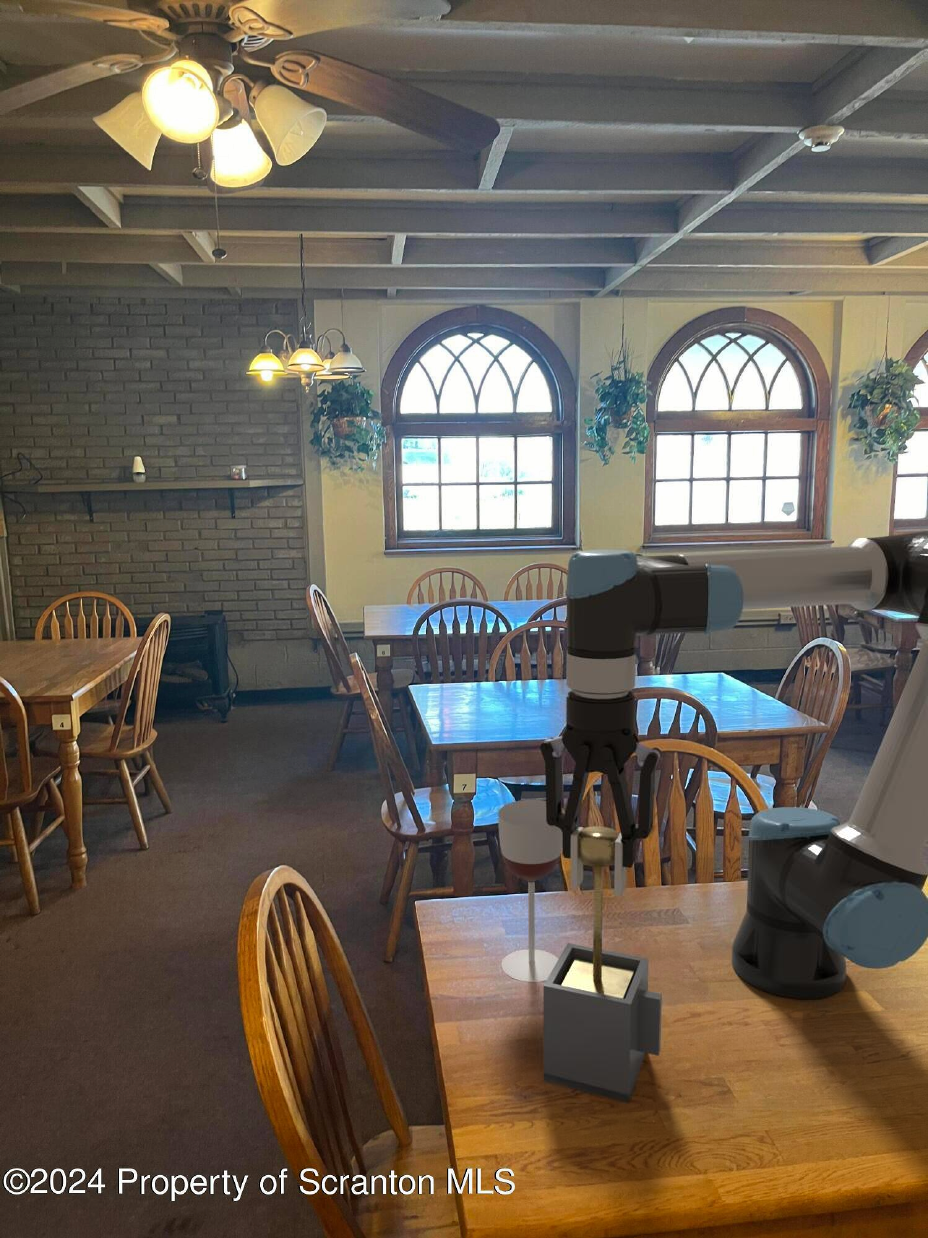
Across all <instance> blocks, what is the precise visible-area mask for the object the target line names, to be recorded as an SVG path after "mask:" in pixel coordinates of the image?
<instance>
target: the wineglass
mask: <svg viewBox="0 0 928 1238" xmlns="http://www.w3.org/2000/svg"><path fill="white" fill-rule="evenodd" d="M562 813H563V814H565V808H563V807H562ZM497 816H498V817H497V819H498V837H499V844H500V852H501V855H502V858H503V861H504V864H505V865H506V867H507V869H508V871H510V872H511V874H513V875H514V876H515V877H517V878H519V879H521V880H524V881H526V882H527V883H528V885H527V886H528V888H527V889H528V891H527V892H528V896H527V897H528V899H527V900H528V901H527V902H528V918H527V919H528V949H519V950H516V951H513V952H511V953H508V954H507V955H506V956H505V957H503V959H502V961H501V969H502V970H503V973H505V974H506V975H507V976H509V977H510V978H513V979H515V980H517V981H520V982H527V983H539V982H544V981H545V982H546V980H547V979H548V977H549V975H550V973H551V972H552V970H553V968H554V966H555V965H556V963H557V961H558V959H559V957H557V956H556V955H554V954H553V953H551V952H548V951H545V950H541V949H536V948H535V946H536V941H535V937H536V936H535V935H536V934H535V931H536V930H535V929H536V928H535V927H536V926H535V925H536V924H535V923H536V922H535V919H536V915H535V914H536V913H535V910H536V907H535V906H536V905H535V900H536V899H535V896H536V895H535V889H536V887H535V881H538V880H541V879H543V878H545V877H547V876H548V875H549V874H550V873H552V872H553V871H554V869H555V868H556V867H557V865H558V863H559V861H560V857H561V855H562V849H563V848H562V846H563V845H562V835H563V834H562V831H561V829H560V828H558V827H556V826H550V825H548V824H547V821H546V800H543V799H542V800H541V799H522V800H517V801H512V802H510V803H507V804H505V805H503V806H502V807H500V809H499V810H498V812H497Z"/></svg>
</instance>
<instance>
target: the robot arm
mask: <svg viewBox="0 0 928 1238" xmlns="http://www.w3.org/2000/svg"><path fill="white" fill-rule="evenodd" d="M566 574H567V575H566V588H565V589H566V590H565V597H566V635H567V636H566V638H567V639H566V642H567V645H566V672H565V673H566V676H565V678H566V679H565V680H566V683H565V684H566V687H567V688H568V689H569V690H568V692H567V693H566V700H565V702H566V706H565V707H566V708H565V709H566V711H565V712H566V713H565V714H566V715H565V717H566V718H565V723H566V725H565V729H564V732H563V733H562V735H560V736H557V737H555V738H554V737H552V736H548V737H547V738H546V739H545V740H544V741H543V742H542V743H541V744H540V745H539V746H540V747H539V749H540V753H541V755H542V757H543V760H544V761H543V762H544V763H545V766H544V767H545V801H546V821H547V824H548V825H550V826H556V827H558V828H560V829H561V831H562V834H563V835H562V845H563V846H562V851H561V855H562V856H563V858H565V859H569V860H570V884H569V885H570V890H574V891H577V890H578V889H579V887H580V885H581V884H582V883H583V881H584V863H582V862H581V861H580V859H579V832H580V831H581V830H582V829H584V827H582V826H577V824H578V822H579V821H580V820H579V818H580V817H579V816H580V812H581V808H582V804H583V800H584V796H585V792H586V787H587V784H588V781H589V780H588V779H589V775H590V773H595V772H596V773H597V772H598V773H600V774H603V775H606V777H607V781H608V784H609V785H610V790H611V793H612V798H613V803H614V807H615V812H616V817H617V822H618V827H619V831H620V833H618V838H617V839H616V841H615V864H614V877H613V879H614V888H613V889H614V892H613V896H614V897H617V898H622V896H623V895H624V892H625V890H626V888H627V869H628V868H629V869H632V868H633V865H634V864H635V863H634V862H635V861H636V859H637V858H636V851H637V845H636V844H637V840H639V839H642V840H645V839H647V838H649V836H650V834H651V831H652V830H653V828H654V809H655V807H654V805H655V784H656V782H655V781H656V780H655V779H656V767H657V765H658V762H660V761H659V760H660V758H661V757H662V751H661V749H659V748H658V747H653V748H650V747H648V746H646V745H644V744H642V743H640V742H639V738H638V736H637V734H636V732H635V731H636V730H635V705H636V704H635V703H636V701H635V699H636V696H635V694H634V693H633V691H632V690H633V689H634V688H635V687H636V651H637V647H636V644H637V636H641V637H643V636H645V637H647V636H655V635H679V634H680V635H681V634H682V635H685V634H704V635H707V634H711V633H715V632H724V631H729V630H731V629H733V628H735V626H736V625H737V624H738V622H739V621H740V619H741V618H742V617H741V616H742V613H743V611H745V610H746V611H747V610H761V609H763V610H766V609H779V608H781V609H782V608H784V609H785V608H798V607H799V608H800V607H812V606H813V607H815V606H832V605H848V604H849V605H851V606H852V607H853V608H854V609H855V610H859V611H877V610H878V611H886V612H887V611H889V612H894V613H895V612H896V613H900V614H905V615H912V616H916V617H918V619H917V621H916V623H915V626H914V627H915V628H916V630H917V632H918V635H919V636H920V638H921V642H922V644H921V646H920V649H919V652H918V655H917V656H916V659H915V662H914V664H913V666H912V668H911V670H910V674H909V677H907V678H908V679H907V681H906V683H905V686H904V688H903V690H902V693H901V695H900V698H899V701H898V702H897V705H896V708H895V710H894V713H893V715H892V716H891V717H892V718H891V719H890V722H889V725H888V726H887V729H886V732H885V734H884V736H883V738H882V740H881V741H882V742H881V744H880V746H879V749H878V751H877V753H876V755H875V758H874V761H873V762H872V766H871V767H870V771H869V772H868V775H867V777H866V780H865V783H864V786H863V788H862V790H861V792H860V794H859V798H858V799H857V802H856V804H855V806H854V809H853V812H852V814H851V816H850V819H849V820H848V821H846V822H844V823H842V824H841V822H840V819H839V818H838V817H837V816H835V814H832V813H830V812H827V811H823V810H820V809H814V808H807V807H797V806H796V807H795V806H794V807H793V806H790V807H789V806H788V807H787V806H784V807H782V806H781V807H774V808H773V807H772V808H768V809H764V810H761V811H758V812H757V813H756V814H754V816H753V817H752V818H751V820H750V826H749V832H748V836H747V841H748V855H747V856H748V860H747V885H746V886H747V888H746V893H747V894H746V911H745V914H744V915H743V919H742V921H741V923H740V926H739V928H738V931H737V933H736V936H735V938H734V939H733V943H732V948H731V949H732V950H731V964H732V968H733V969H734V971H735V972H736V973H737V975H738V976H739V977H740V978H741V979H742V980H744V981H745V982H747V983H748V984H750V985H752V986H753V987H755V988H757V989H759V990H762V991H763V992H766V993H768V994H769V993H770V994H771V995H776V996H779V997H784V998H790V999H798V1000H799V999H800V1000H815V999H823V998H826V997H830V996H832V995H833V996H834V995H836V993H838V992H839V991H841V990H842V989H843V988H844V986H845V984H846V978H847V961H846V959H847V960H849V961H850V962H851V963H853V964H854V965H857V966H859V967H862V968H866V969H873V970H874V969H875V970H877V969H878V970H879V969H887V968H891V967H894V966H896V965H897V964H898V963H900V962H902V963H903V962H905V961H907V960H909V959H910V958H911V957H912V956H915V954H916V953H917V952H918V951H919V950H920V949H921V948H922V946H923V945H924V944H925V942H927V940H928V897H927V895H926V894H925V893H924V891H923V888H924V887H925V884H926V881H927V879H928V864H927V862H926V860H925V858H924V856H923V851H924V848H925V846H926V844H927V841H928V530H925V531H916V532H915V531H914V532H911V533H908V532H907V533H901V534H893V535H886V536H877V537H861V538H856V539H854V540H853V541H851V542H850V543H849V544H848V545H847V546H833V547H811V548H792V549H791V548H789V549H771V550H769V549H768V550H750V551H749V550H747V551H746V550H745V551H730V552H729V551H728V552H709V553H708V552H706V553H705V552H704V553H683V554H677V555H675V554H668V555H667V554H665V555H643V554H639V553H634V552H632V551H630V550H623V549H621V550H620V549H589V550H588V549H587V550H581V551H580V550H579V551H577V552H575V553H574V554H572V555H571V556H570V558H569V560H568V566H567V573H566ZM564 747H565V749H566V750H567V752H568V754H569V755H570V756H571V758H572V759H573V761H574V763H575V765H574V769H573V774H572V782H571V786H570V788H569V789H570V791H569V794H568V798H567V803H566V806H565V809H564V811H565V814H563V813H562V808H563V783H562V781H563V779H562V778H563V777H562V776H563V775H562V773H563V771H562V770H563V767H562V766H563V765H562V755H563V754H564ZM633 754H634V755H636V756H637V760H636V762H637V765H638V766H639V767H641V769H640V772H639V788H638V789H639V791H638V792H639V793H638V794H639V795H638V820H637V822H638V823H636V817H635V815H634V809H633V806H632V805H633V804H632V800H631V795H630V790H629V786H628V780H627V778H626V777H627V773H626V772H627V770H626V765H625V764H626V762H628V760H629V759H630V758H631V756H633Z"/></svg>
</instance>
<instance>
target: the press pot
mask: <svg viewBox="0 0 928 1238" xmlns="http://www.w3.org/2000/svg"><path fill="white" fill-rule="evenodd" d="M575 959H581V960H586V961H591V962H593V947H590V946H586V945H580V944H574V943H569V942H568V943H566V945H565V947H564V949H563V951H562V953H561V954H560V956H559V957H558V961H557V963H556V965H555V966H554V968H553V970H552V972H551V973H550V975H549V977H548V979H547V980H546V981H545V982H544V984H543V998H542V999H543V1003H542V1004H543V1008H542V1009H543V1010H542V1011H543V1017H542V1018H543V1019H542V1021H543V1026H542V1027H543V1032H542V1033H543V1037H542V1038H543V1039H542V1040H543V1047H542V1048H543V1054H542V1055H543V1060H542V1061H543V1062H542V1063H543V1072H542V1073H543V1082H545V1083H551V1084H552V1085H553V1084H554V1085H558V1086H562V1087H564V1088H565V1087H566V1088H570V1089H573V1090H576V1091H577V1090H578V1091H581V1092H585V1093H589V1094H593V1095H596V1096H600V1097H604V1098H608V1099H613V1100H616V1101H620V1102H623V1103H624V1102H625V1103H627V1102H628V1103H627V1104H630V1103H631V1098H632V1096H633V1093H634V1089H635V1087H636V1083H637V1081H638V1078H639V1074H640V1071H641V1068H642V1065H643V1063H644V1062H643V1061H644V1059H645V1056H646V1054H648V1055H653V1056H658V1057H659V1056H660V1053H661V1050H662V1049H661V1045H662V1044H661V1043H662V1040H661V1039H662V1007H663V1006H662V1005H663V1003H662V1001H663V994H662V993H659V992H654V991H649V958H648V957H647V958H646V957H641V956H636V955H631V954H626V953H622V952H621V953H620V952H618V951H617V952H616V951H611V950H606V949H602V964H606V965H611V966H616V967H621V968H626V969H631V970H634V978H633V981H632V983H631V986H630V988H629V991H628V993H627V996H626V998H625V999H623V998H619V997H614V996H609V995H605V994H600V993H595V992H591V991H586V990H581V989H576V988H572V987H567V986H562V983H563V981H564V979H565V977H566V975H567V974H568V972H569V970H570V968H571V966H572V964H573V962H574V961H575Z"/></svg>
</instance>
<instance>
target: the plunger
mask: <svg viewBox="0 0 928 1238" xmlns="http://www.w3.org/2000/svg"><path fill="white" fill-rule="evenodd" d="M618 836H619V833H618V831H617V830H615V829H613V828H612V827H607V826H599V825H598V826H597V825H596V826H595V825H594V826H588V827H587V826H586V827H583V829H582V830H581V831H580V832H579V859H580V861H581V862H582V863H583V865H586V866H590V867H593V929H592V930H593V932H592V933H593V934H592V935H593V938H592V942H593V943H592V945H593V946H592V948H593V962H591V961H586V960H581V959H575V961H574V962H573V964H572V966H571V968H570V970H569V972H568V974H567V975H566V977H565V979H564V981H563V983H562V986H567V987H572V988H576V989H581V990H586V991H591V992H595V993H600V994H605V995H609V996H614V997H619V998H623V999H625V998H626V996H627V993H628V991H629V988H630V986H631V983H632V981H633V978H634V970H631V969H626V968H621V967H616V966H611V965H606V964H602V950H603V904H604V903H603V891H604V889H603V888H604V887H603V886H604V885H603V884H604V882H603V881H604V878H603V877H604V868H606V867H607V868H608V867H612V866H615V841H616V839H617V838H618Z"/></svg>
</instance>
